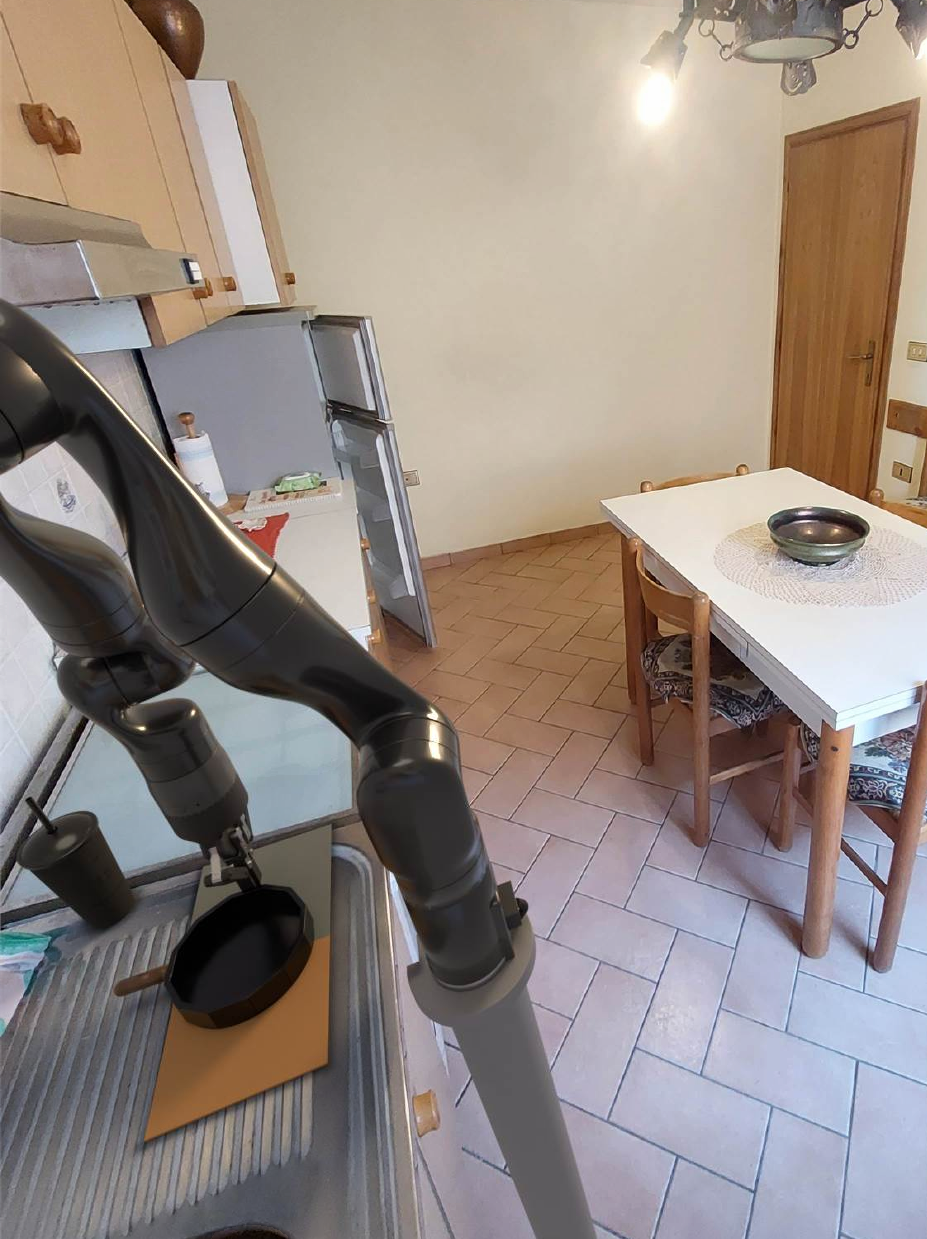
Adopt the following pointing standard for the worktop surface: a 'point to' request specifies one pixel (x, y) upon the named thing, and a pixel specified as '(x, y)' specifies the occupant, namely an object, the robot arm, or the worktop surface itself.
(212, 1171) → the worktop surface
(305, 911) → the skillet
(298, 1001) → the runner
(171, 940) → the worktop surface
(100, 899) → the drinking cup
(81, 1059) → the worktop surface
